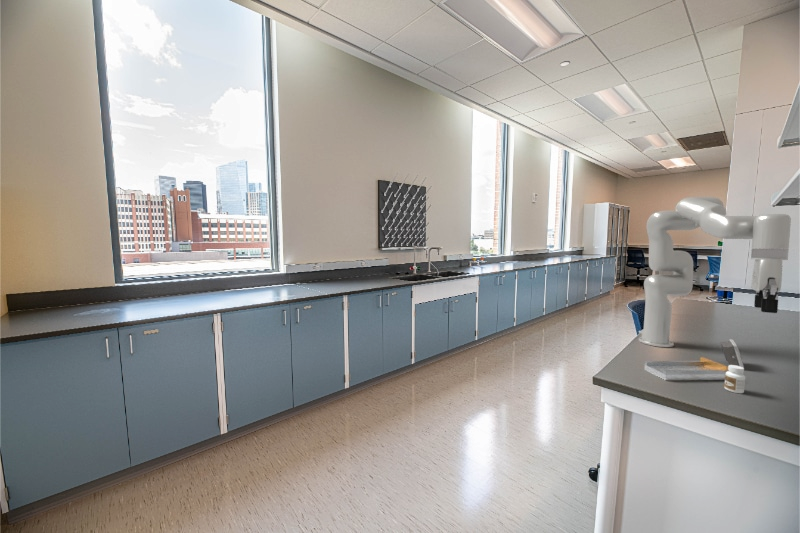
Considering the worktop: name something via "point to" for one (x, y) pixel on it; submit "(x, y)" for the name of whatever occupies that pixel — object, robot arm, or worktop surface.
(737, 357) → the electrical switch
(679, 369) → the rail
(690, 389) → the worktop surface
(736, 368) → the pill bottle
